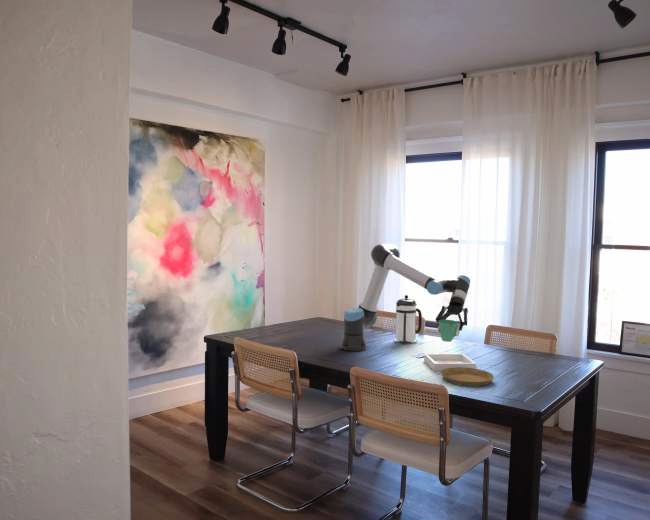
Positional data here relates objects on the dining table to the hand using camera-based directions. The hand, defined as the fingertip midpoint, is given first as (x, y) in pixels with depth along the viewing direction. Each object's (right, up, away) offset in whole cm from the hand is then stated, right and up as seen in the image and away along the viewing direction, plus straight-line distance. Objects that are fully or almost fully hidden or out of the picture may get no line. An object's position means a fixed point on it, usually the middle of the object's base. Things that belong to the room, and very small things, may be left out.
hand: (447, 333), depth 272 cm
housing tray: (+2, -17, +3) cm, 17 cm away
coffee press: (-11, -14, +62) cm, 65 cm away
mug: (+2, -4, +3) cm, 5 cm away
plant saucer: (+4, -19, -23) cm, 30 cm away
